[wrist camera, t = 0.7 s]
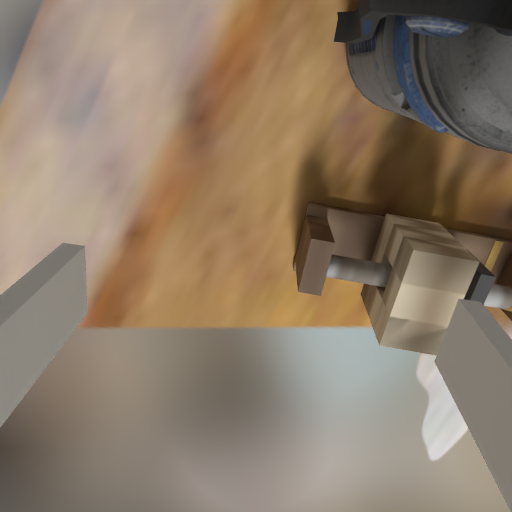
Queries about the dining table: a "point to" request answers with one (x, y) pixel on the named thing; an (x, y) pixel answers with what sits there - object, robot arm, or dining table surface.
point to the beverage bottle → (436, 63)
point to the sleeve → (417, 283)
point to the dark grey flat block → (480, 284)
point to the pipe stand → (363, 246)
